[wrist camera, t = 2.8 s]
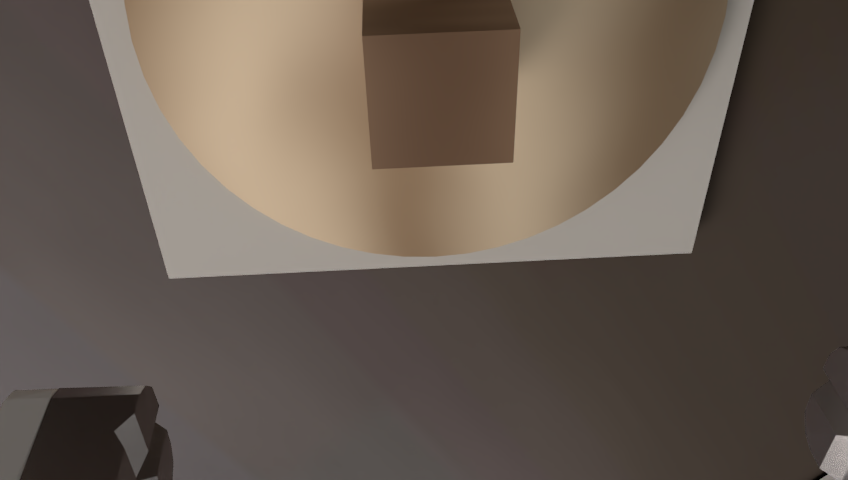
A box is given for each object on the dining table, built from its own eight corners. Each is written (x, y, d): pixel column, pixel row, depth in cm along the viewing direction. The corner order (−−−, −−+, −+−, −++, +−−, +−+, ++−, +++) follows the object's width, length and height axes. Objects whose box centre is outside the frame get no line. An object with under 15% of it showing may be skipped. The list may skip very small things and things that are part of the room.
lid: (789, -353, 15) (910, -339, 12) (666, 227, 24) (716, 332, 21) (47, -329, 15) (-50, -309, 11) (197, 251, 24) (168, 361, 20)
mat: (832, -417, 15) (857, -419, 15) (681, 233, 25) (691, 252, 25) (-6, -399, 15) (-26, -399, 14) (175, 257, 25) (168, 278, 24)
